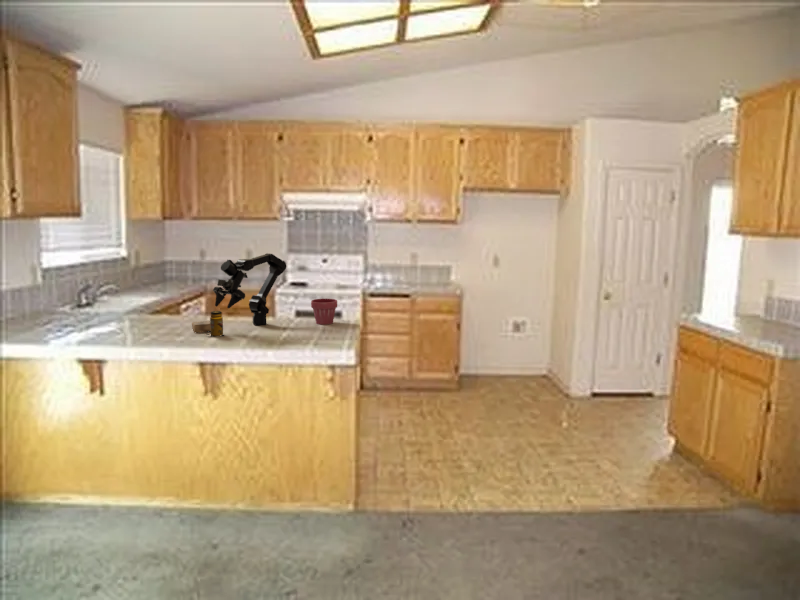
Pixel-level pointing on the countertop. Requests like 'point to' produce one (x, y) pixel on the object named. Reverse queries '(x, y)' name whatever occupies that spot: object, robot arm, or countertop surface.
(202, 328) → the base block
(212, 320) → the condiment
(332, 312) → the plant pot
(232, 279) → the robot arm
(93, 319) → the countertop surface
